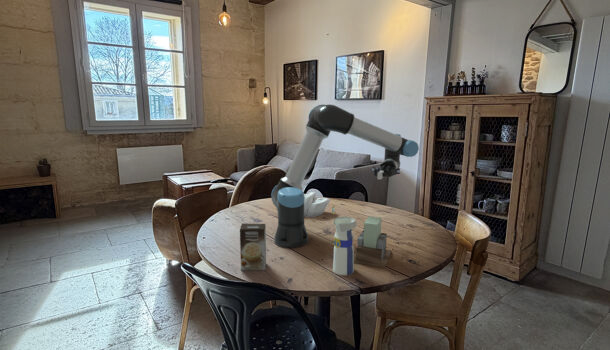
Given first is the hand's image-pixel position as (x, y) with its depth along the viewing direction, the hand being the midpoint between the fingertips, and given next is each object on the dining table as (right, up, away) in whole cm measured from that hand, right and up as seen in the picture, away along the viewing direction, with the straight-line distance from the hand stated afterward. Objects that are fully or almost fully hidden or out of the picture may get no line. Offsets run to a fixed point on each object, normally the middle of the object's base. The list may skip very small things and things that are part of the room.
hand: (379, 176), depth 141 cm
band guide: (-5, -32, -7) cm, 33 cm away
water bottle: (-17, -35, -19) cm, 43 cm away
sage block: (-5, -31, -8) cm, 32 cm away
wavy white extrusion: (-35, -21, +53) cm, 67 cm away
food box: (-51, -34, -15) cm, 63 cm away
